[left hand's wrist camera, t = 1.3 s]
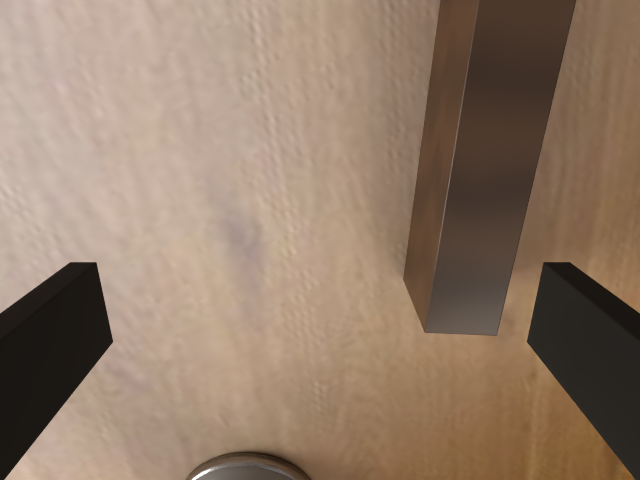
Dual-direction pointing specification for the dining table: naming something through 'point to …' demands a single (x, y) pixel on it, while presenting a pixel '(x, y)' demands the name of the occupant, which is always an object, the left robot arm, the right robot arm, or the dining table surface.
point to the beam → (480, 155)
